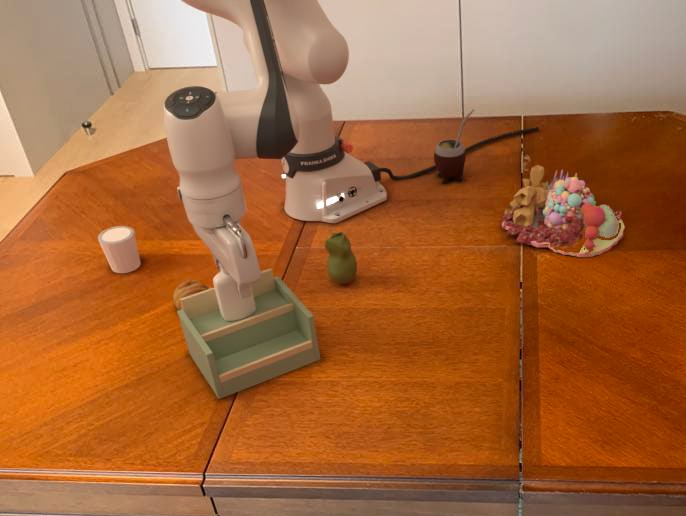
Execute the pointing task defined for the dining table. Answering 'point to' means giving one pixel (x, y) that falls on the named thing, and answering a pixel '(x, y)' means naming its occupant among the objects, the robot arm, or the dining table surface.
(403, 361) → the dining table surface
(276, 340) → the spice rack
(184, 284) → the pastry
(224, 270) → the eye dropper bottle
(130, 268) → the white short cylinder
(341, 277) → the pear
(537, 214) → the pastel sphere sculpture
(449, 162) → the mate gourd
